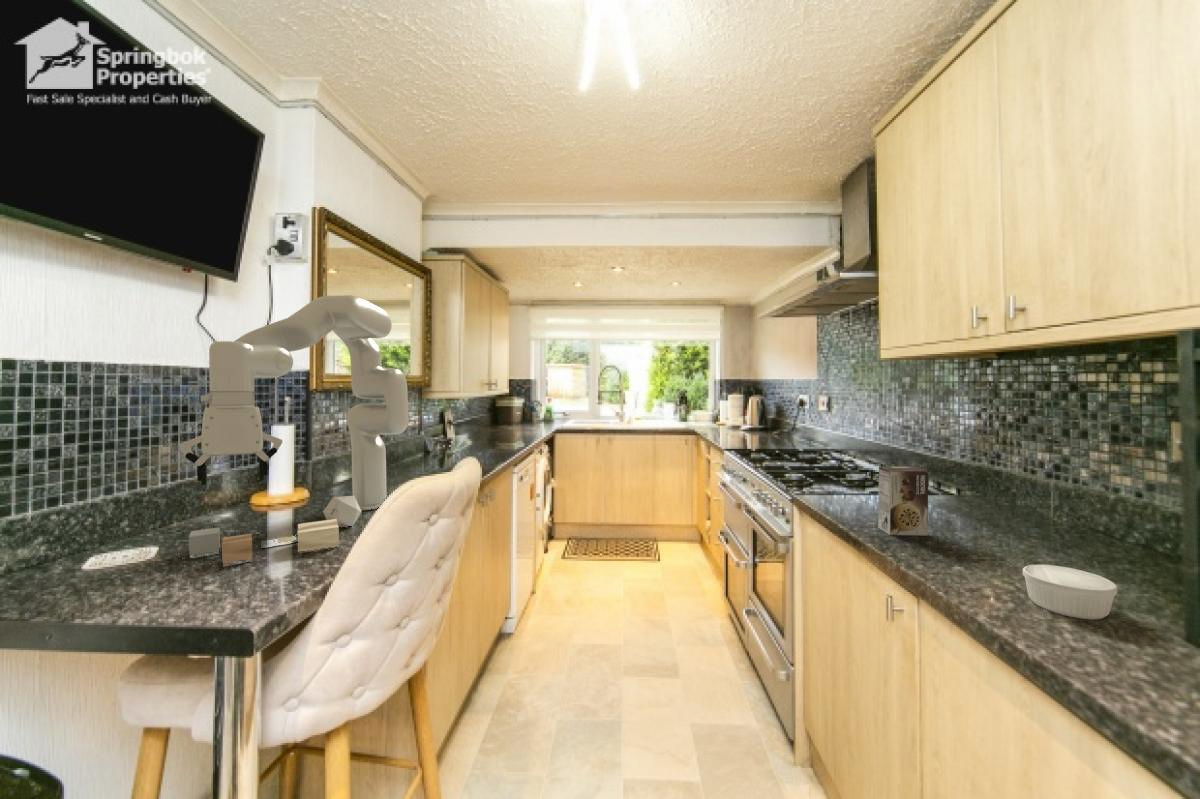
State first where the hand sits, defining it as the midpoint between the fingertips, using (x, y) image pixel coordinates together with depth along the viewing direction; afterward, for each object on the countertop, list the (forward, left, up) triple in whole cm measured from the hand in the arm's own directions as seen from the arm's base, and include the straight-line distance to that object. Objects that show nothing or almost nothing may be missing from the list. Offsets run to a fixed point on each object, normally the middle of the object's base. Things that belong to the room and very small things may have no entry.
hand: (233, 481), depth 101 cm
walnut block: (0, 0, -17) cm, 17 cm away
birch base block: (-1, +15, -17) cm, 23 cm away
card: (-9, +8, -17) cm, 21 cm away
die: (-15, +22, -17) cm, 32 cm away
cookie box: (+75, +135, -17) cm, 155 cm away
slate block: (-10, -6, -17) cm, 21 cm away
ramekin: (+109, +113, -18) cm, 158 cm away
